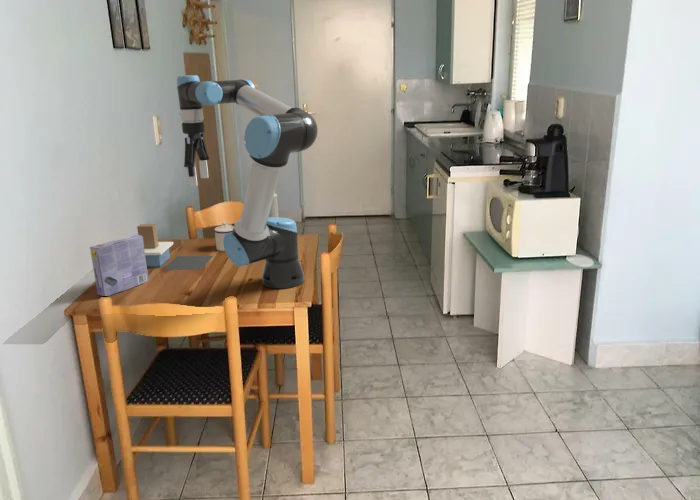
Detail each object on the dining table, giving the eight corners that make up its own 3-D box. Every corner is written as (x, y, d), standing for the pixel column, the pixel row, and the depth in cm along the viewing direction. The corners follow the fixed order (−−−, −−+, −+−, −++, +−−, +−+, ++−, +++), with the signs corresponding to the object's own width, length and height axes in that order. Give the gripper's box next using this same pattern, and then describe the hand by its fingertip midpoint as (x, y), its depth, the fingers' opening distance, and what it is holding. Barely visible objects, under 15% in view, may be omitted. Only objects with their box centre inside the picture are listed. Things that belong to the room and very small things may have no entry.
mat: (201, 270, 219) (201, 269, 219) (163, 270, 220) (163, 269, 220) (213, 256, 234) (213, 255, 234) (177, 257, 235) (177, 256, 235)
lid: (160, 255, 219) (157, 229, 216) (125, 255, 220) (121, 230, 216) (173, 244, 232) (170, 220, 229) (139, 244, 233) (136, 220, 230)
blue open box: (160, 268, 222) (158, 253, 220) (132, 268, 223) (130, 254, 221) (170, 259, 233) (168, 245, 231) (143, 259, 233) (141, 245, 231)
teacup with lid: (230, 253, 238) (227, 226, 235) (211, 251, 242) (209, 224, 238) (245, 244, 249) (243, 218, 245) (227, 242, 252) (225, 217, 249)
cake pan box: (144, 278, 212) (137, 232, 207) (152, 280, 210) (145, 234, 204) (96, 295, 197) (87, 246, 192) (105, 298, 195) (96, 249, 189)
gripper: (193, 118, 211) (199, 175, 218) (169, 125, 188) (177, 189, 194) (213, 118, 211) (218, 174, 218) (192, 125, 187) (199, 188, 194)
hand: (199, 181), depth 206 cm, fingers open, 13 cm apart
